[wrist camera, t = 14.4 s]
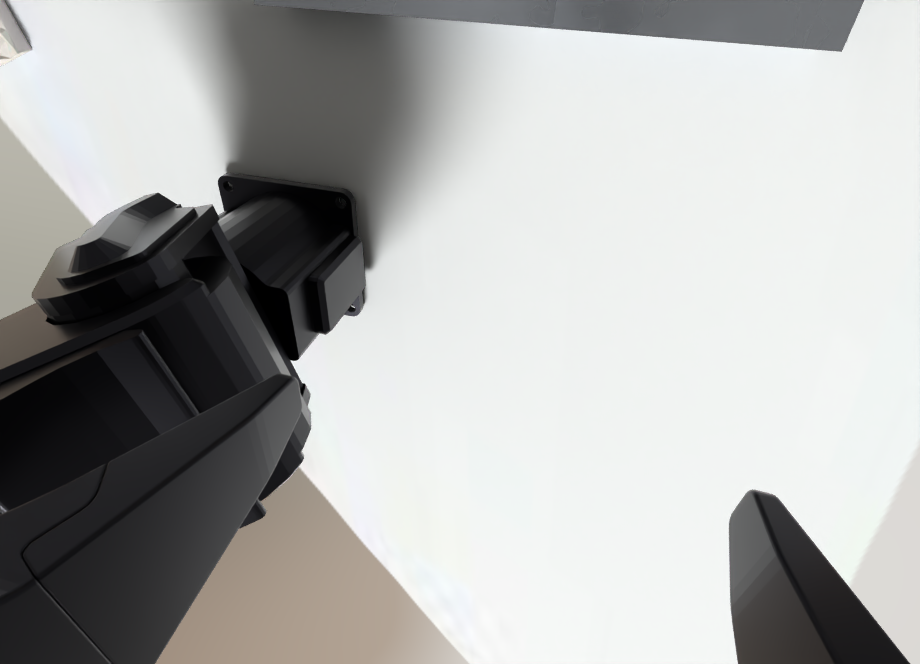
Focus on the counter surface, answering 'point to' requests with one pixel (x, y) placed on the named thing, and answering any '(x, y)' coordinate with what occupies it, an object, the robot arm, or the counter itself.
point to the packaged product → (10, 37)
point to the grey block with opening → (637, 17)
